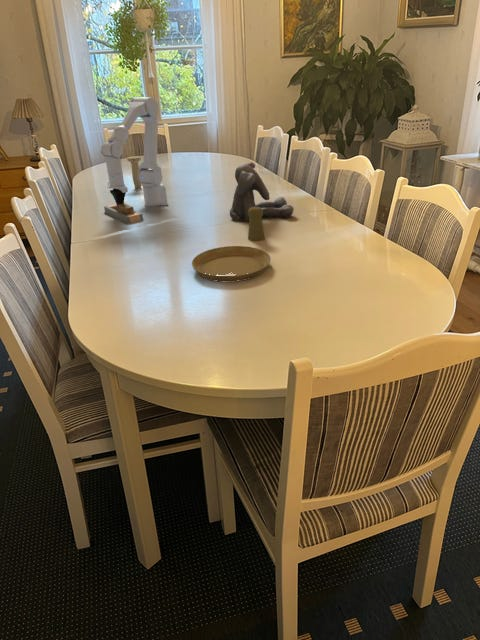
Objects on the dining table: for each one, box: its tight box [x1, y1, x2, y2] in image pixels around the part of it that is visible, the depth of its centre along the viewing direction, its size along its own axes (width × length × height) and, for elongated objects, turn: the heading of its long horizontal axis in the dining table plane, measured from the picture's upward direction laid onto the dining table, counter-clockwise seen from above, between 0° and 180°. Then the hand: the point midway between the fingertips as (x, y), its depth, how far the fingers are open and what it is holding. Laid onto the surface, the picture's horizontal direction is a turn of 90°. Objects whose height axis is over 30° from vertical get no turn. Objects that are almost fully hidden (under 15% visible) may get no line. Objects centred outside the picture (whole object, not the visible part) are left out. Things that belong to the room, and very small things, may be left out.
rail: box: [103, 203, 145, 225], centre depth 212 cm, size 8×22×4 cm, turn 36°
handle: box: [127, 155, 142, 190], centre depth 255 cm, size 5×6×15 cm
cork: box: [247, 207, 266, 242], centre depth 181 cm, size 6×6×11 cm
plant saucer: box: [191, 245, 272, 282], centre depth 159 cm, size 24×24×3 cm
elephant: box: [229, 161, 294, 223], centre depth 203 cm, size 21×25×21 cm
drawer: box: [118, 202, 135, 215], centre depth 209 cm, size 3×8×5 cm, turn 36°
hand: (120, 207), depth 212 cm, fingers closed
